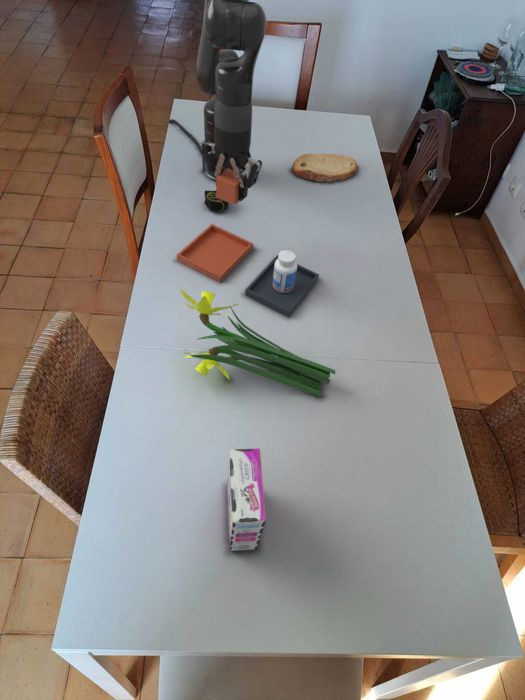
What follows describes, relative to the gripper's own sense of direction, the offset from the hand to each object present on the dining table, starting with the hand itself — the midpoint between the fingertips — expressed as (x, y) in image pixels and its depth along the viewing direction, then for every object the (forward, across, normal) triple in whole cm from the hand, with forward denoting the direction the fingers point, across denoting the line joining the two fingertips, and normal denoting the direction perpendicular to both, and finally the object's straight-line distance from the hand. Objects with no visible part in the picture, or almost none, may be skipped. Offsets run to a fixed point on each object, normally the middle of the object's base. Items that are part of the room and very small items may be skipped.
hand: (231, 194), depth 105 cm
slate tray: (+18, -18, +3) cm, 25 cm away
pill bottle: (+17, -18, +3) cm, 25 cm away
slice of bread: (+18, -4, -50) cm, 53 cm away
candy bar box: (+18, -38, +56) cm, 70 cm away
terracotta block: (0, 0, 0) cm, 0 cm away
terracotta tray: (+17, +2, +3) cm, 18 cm away
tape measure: (+18, +14, -14) cm, 27 cm away
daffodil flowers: (+18, -24, +27) cm, 41 cm away
